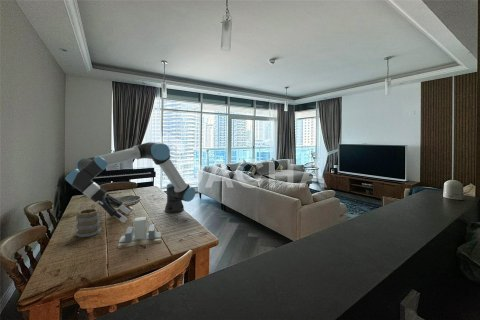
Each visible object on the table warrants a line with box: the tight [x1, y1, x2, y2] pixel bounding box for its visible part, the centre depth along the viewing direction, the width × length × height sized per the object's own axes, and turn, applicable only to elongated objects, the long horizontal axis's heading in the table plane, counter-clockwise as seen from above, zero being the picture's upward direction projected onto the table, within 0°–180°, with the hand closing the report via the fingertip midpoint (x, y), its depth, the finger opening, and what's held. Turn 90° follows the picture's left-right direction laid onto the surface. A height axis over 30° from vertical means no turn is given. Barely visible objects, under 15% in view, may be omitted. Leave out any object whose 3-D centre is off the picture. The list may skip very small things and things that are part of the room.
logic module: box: [133, 216, 148, 239], centre depth 129 cm, size 6×5×11 cm
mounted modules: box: [124, 223, 156, 243], centre depth 129 cm, size 15×10×5 cm, turn 109°
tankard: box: [75, 203, 103, 238], centre depth 141 cm, size 20×13×15 cm, turn 17°
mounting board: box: [117, 231, 162, 249], centre depth 129 cm, size 22×12×2 cm, turn 109°
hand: (127, 216), depth 125 cm, fingers open, 13 cm apart
